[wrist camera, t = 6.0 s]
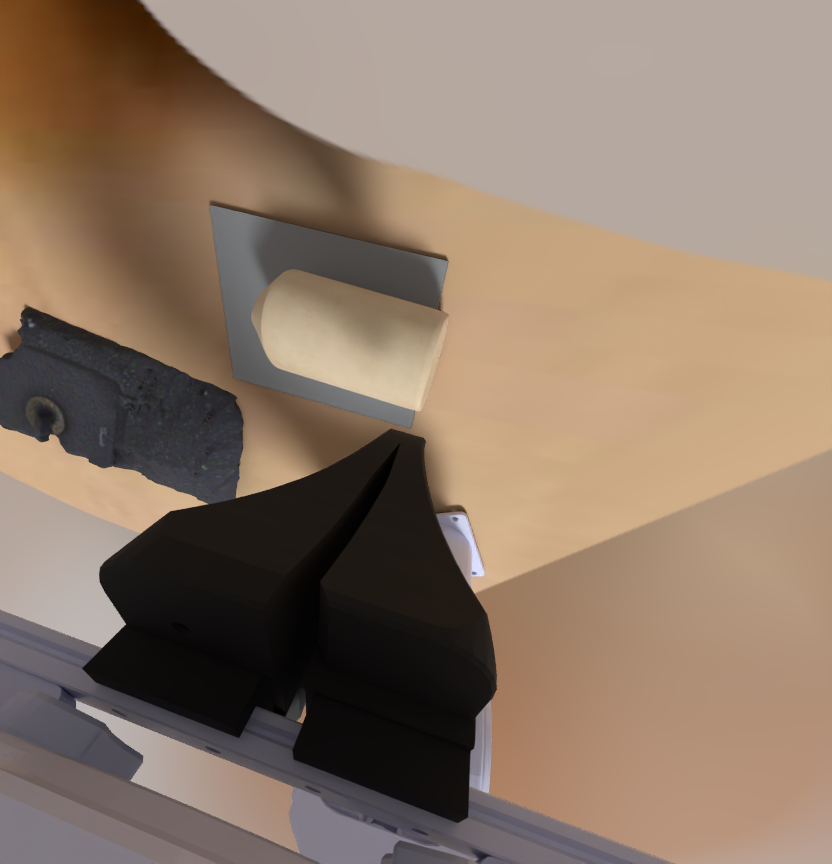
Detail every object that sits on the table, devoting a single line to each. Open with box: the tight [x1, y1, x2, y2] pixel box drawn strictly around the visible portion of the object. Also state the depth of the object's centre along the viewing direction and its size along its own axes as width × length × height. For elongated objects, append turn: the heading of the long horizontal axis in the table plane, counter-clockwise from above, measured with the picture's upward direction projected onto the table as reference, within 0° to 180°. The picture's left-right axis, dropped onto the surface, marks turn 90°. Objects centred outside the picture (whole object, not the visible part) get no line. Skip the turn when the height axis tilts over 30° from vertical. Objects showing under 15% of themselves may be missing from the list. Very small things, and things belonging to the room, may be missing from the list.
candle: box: [251, 269, 449, 411], centre depth 17 cm, size 6×6×10 cm
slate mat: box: [209, 205, 449, 429], centre depth 20 cm, size 14×11×1 cm
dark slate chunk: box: [0, 307, 243, 504], centre depth 26 cm, size 15×22×5 cm
